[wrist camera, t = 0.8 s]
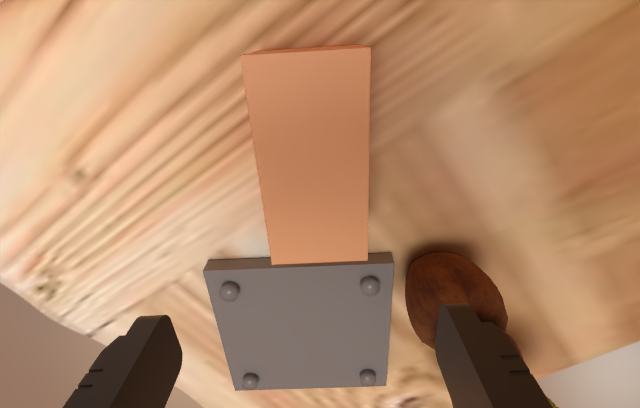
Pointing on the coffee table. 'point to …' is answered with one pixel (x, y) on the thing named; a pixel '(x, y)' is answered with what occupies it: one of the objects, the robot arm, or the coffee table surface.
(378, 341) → the baseplate
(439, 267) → the wooden figurine
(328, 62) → the brick
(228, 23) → the coffee table surface
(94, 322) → the coffee table surface
